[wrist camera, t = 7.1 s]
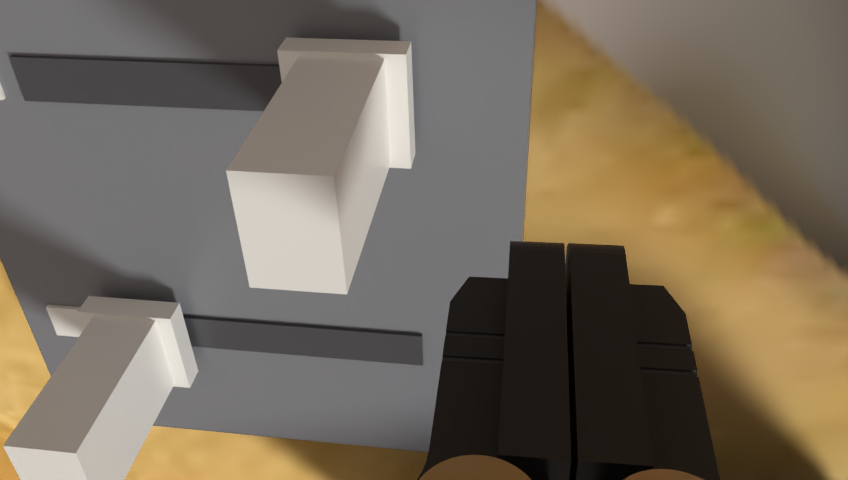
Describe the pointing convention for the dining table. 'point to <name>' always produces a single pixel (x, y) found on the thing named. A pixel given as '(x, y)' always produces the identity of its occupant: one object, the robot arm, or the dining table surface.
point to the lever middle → (321, 160)
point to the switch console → (213, 209)
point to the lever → (104, 392)
